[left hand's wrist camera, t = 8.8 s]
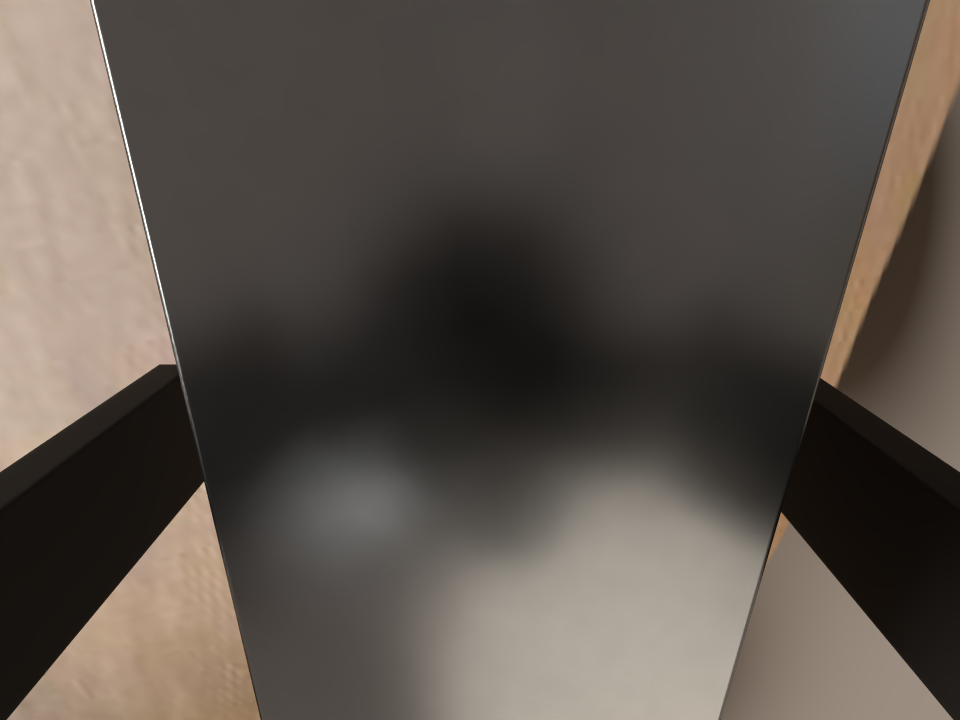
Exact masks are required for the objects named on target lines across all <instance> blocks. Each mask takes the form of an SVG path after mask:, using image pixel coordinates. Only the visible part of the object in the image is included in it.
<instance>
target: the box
mask: <svg viewBox="0 0 960 720" xmlns="http://www.w3.org/2000/svg"><path fill="white" fill-rule="evenodd" d="M90 2H91V7H92V11H93V15H94V19H95V24H96V28H97V32H98V36H99V40H100V45H101V49H102V53H103V57H104V61H105V66H106V70H107V74H108V78H109V82H110V87H111V91H112V95H113V99H114V104H115V108H116V112H117V116H118V120H119V125H120V129H121V133H122V137H123V141H124V146H125V150H126V154H127V158H128V162H129V167H130V171H131V175H132V179H133V184H134V188H135V192H136V196H137V200H138V205H139V209H140V213H141V217H142V221H143V226H144V230H145V234H146V238H147V242H148V247H149V251H150V255H151V259H152V264H153V268H154V272H155V276H156V280H157V285H158V289H159V293H160V297H161V301H162V306H163V310H164V314H165V318H166V322H167V327H168V331H169V335H170V339H171V344H172V348H173V352H174V356H175V360H176V365H177V369H178V373H179V377H180V381H181V386H182V390H183V394H184V398H185V402H186V407H187V411H188V415H189V419H190V424H191V428H192V432H193V436H194V440H195V445H196V449H197V453H198V457H199V461H200V466H201V470H202V474H203V478H204V482H205V487H206V491H207V495H208V499H209V503H210V508H211V512H212V516H213V520H214V525H215V529H216V533H217V537H218V541H219V546H220V550H221V554H222V558H223V562H224V567H225V571H226V575H227V579H228V583H229V588H230V592H231V596H232V600H233V605H234V609H235V613H236V617H237V621H238V626H239V630H240V634H241V638H242V642H243V647H244V651H245V655H246V659H247V663H248V668H249V672H250V676H251V680H252V685H253V689H254V693H255V697H256V701H257V706H258V710H259V714H260V718H261V720H721V716H722V713H723V709H724V706H725V703H726V699H727V695H728V692H729V689H730V685H731V682H732V678H733V675H734V672H735V668H736V665H737V661H738V658H739V654H740V651H741V648H742V644H743V641H744V637H745V634H746V630H747V627H748V624H749V620H750V617H751V613H752V610H753V606H754V603H755V600H756V596H757V593H758V589H759V586H760V582H761V579H762V575H763V572H764V569H765V565H766V562H767V558H768V555H769V551H770V548H771V545H772V541H773V538H774V534H775V531H776V527H777V524H778V521H779V517H780V514H781V510H782V507H783V503H784V500H785V496H786V493H787V490H788V486H789V483H790V479H791V476H792V472H793V469H794V466H795V462H796V459H797V455H798V452H799V448H800V445H801V442H802V438H803V435H804V431H805V428H806V424H807V421H808V418H809V414H810V411H811V407H812V404H813V400H814V397H815V393H816V390H817V387H818V383H819V380H820V376H821V373H822V369H823V366H824V363H825V359H826V356H827V352H828V349H829V345H830V342H831V339H832V335H833V332H834V328H835V325H836V321H837V318H838V314H839V311H840V308H841V304H842V301H843V297H844V294H845V290H846V287H847V284H848V280H849V277H850V273H851V270H852V266H853V263H854V260H855V256H856V253H857V249H858V246H859V242H860V239H861V236H862V232H863V229H864V225H865V222H866V218H867V215H868V211H869V208H870V205H871V201H872V198H873V194H874V191H875V187H876V184H877V181H878V177H879V174H880V170H881V167H882V163H883V160H884V157H885V153H886V150H887V146H888V143H889V139H890V136H891V132H892V129H893V126H894V122H895V119H896V115H897V112H898V108H899V105H900V102H901V98H902V95H903V91H904V88H905V84H906V81H907V78H908V74H909V71H910V67H911V64H912V60H913V57H914V54H915V50H916V47H917V43H918V40H919V36H920V33H921V29H922V26H923V23H924V19H925V16H926V12H927V9H928V5H929V2H930V0H90Z"/></svg>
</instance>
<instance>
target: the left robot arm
mask: <svg viewBox="0 0 960 720" xmlns="http://www.w3.org/2000/svg"><path fill="white" fill-rule="evenodd" d="M203 482H204V478H203V474H202V470H201V466H200V461H199V457H198V453H197V449H196V445H195V440H194V436H193V432H192V428H191V424H190V419H189V415H188V411H187V407H186V402H185V398H184V394H183V390H182V386H181V381H180V377H179V373H178V369H177V365H158V366H157V367H155V368H154V369H152V370H151V371H149V372H148V373H146V374H145V375H143V376H142V377H141V378H139V379H138V380H136V381H135V382H133V383H132V384H130V385H129V386H127V387H126V388H124V389H123V390H121V391H120V392H118V393H117V394H115V395H114V396H112V397H111V398H109V399H108V400H106V401H105V402H104V403H102V404H101V405H99V406H98V407H96V408H95V409H93V410H92V411H90V412H89V413H87V414H86V415H84V416H83V417H81V418H80V419H78V420H77V421H75V422H74V423H72V424H71V425H69V426H68V427H66V428H65V429H64V430H62V431H61V432H59V433H58V434H56V435H55V436H53V437H52V438H50V439H49V440H47V441H46V442H44V443H43V444H41V445H40V446H38V447H37V448H35V449H34V450H32V451H31V452H29V453H28V454H27V455H25V456H24V457H22V458H21V459H19V460H18V461H16V462H15V463H13V464H12V465H10V466H9V467H7V468H6V469H4V470H3V471H1V472H0V720H7V718H8V717H9V716H10V715H11V714H12V712H13V711H14V710H15V709H16V708H17V706H18V705H19V704H20V703H21V702H22V700H23V699H24V698H25V697H26V696H27V694H28V693H29V692H30V691H31V690H32V688H33V687H34V686H35V685H36V683H37V682H38V681H39V680H40V679H41V677H42V676H43V675H44V674H45V673H46V671H47V670H48V669H49V668H50V667H51V665H52V664H53V663H54V662H55V661H56V659H57V658H58V657H59V656H60V655H61V653H62V652H63V651H64V650H65V648H66V647H67V646H68V645H69V644H70V642H71V641H72V640H73V639H74V638H75V636H76V635H77V634H78V633H79V632H80V630H81V629H82V628H83V627H84V626H85V624H86V623H87V622H88V621H89V620H90V618H91V617H92V616H93V615H94V613H95V612H96V611H97V610H98V609H99V607H100V606H101V605H102V604H103V603H104V601H105V600H106V599H107V598H108V597H109V595H110V594H111V593H112V592H113V591H114V589H115V588H116V587H117V586H118V585H119V583H120V582H121V581H122V580H123V578H124V577H125V576H126V575H127V574H128V572H129V571H130V570H131V569H132V568H133V566H134V565H135V564H136V563H137V562H138V560H139V559H140V558H141V557H142V556H143V554H144V553H145V552H146V551H147V550H148V548H149V547H150V546H151V545H152V543H153V542H154V541H155V540H156V539H157V537H158V536H159V535H160V534H161V533H162V531H163V530H164V529H165V528H166V527H167V525H168V524H169V523H170V522H171V521H172V519H173V518H174V517H175V516H176V514H177V513H178V512H179V511H180V510H181V508H182V507H183V506H184V505H185V504H186V502H187V501H188V500H189V499H190V498H191V496H192V495H193V494H194V493H195V492H196V490H197V489H198V488H199V487H200V486H201V484H202V483H203ZM781 512H782V513H783V514H784V516H785V517H786V518H787V519H788V521H789V522H790V523H791V524H792V525H793V527H794V528H795V529H796V530H797V531H798V533H799V534H800V535H801V536H802V537H803V539H804V540H805V541H806V542H807V543H808V545H809V546H810V547H811V548H812V549H813V551H814V552H815V553H816V554H817V556H818V557H819V558H820V559H821V560H822V562H823V563H824V564H825V565H826V566H827V568H828V569H829V570H830V571H831V572H832V574H833V575H834V576H835V577H836V578H837V580H838V581H839V582H840V583H841V584H842V586H843V587H844V588H845V589H846V591H847V592H848V593H849V594H850V595H851V597H852V598H853V599H854V600H855V601H856V603H857V604H858V605H859V606H860V607H861V609H862V610H863V611H864V612H865V613H866V615H867V616H868V617H869V618H870V619H871V621H872V622H873V623H874V624H875V626H876V627H877V628H878V629H879V630H880V632H881V633H882V634H883V635H884V636H885V638H886V639H887V640H888V641H889V642H890V644H891V645H892V646H893V647H894V648H895V650H896V651H897V652H898V653H899V654H900V656H901V657H902V658H903V659H904V661H905V662H906V663H907V664H908V665H909V667H910V668H911V669H912V670H913V671H914V673H915V674H916V675H917V676H918V677H919V679H920V680H921V681H922V682H923V683H924V685H925V686H926V687H927V688H928V690H929V691H930V692H931V693H932V694H933V696H934V697H935V698H936V699H937V700H938V702H939V703H940V704H941V705H942V706H943V708H944V709H945V710H946V711H947V712H948V714H949V715H950V716H951V717H952V718H953V720H960V472H959V471H957V470H956V469H954V468H953V467H951V466H950V465H948V464H947V463H945V462H944V461H942V460H941V459H939V458H938V457H936V456H935V455H933V454H932V453H930V452H929V451H927V450H926V449H925V448H923V447H922V446H920V445H919V444H917V443H916V442H914V441H913V440H911V439H910V438H908V437H907V436H905V435H904V434H902V433H901V432H899V431H898V430H896V429H895V428H893V427H892V426H891V425H889V424H888V423H886V422H885V421H883V420H882V419H880V418H879V417H877V416H876V415H874V414H873V413H871V412H870V411H868V410H867V409H865V408H864V407H862V406H861V405H859V404H858V403H856V402H855V401H854V400H852V399H851V398H849V397H848V396H846V395H845V394H843V393H842V392H840V391H839V390H837V389H836V388H834V387H833V386H831V385H830V384H828V383H827V382H825V381H824V380H822V379H821V378H820V380H819V383H818V387H817V390H816V393H815V397H814V400H813V404H812V407H811V411H810V414H809V418H808V421H807V424H806V428H805V431H804V435H803V438H802V442H801V445H800V448H799V452H798V455H797V459H796V462H795V466H794V469H793V472H792V476H791V479H790V483H789V486H788V490H787V493H786V496H785V500H784V503H783V507H782V510H781Z"/></svg>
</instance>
